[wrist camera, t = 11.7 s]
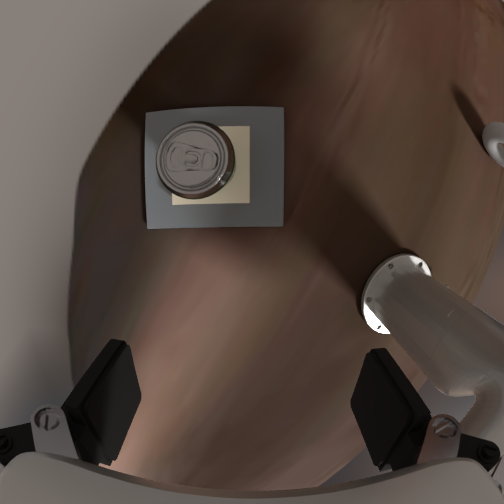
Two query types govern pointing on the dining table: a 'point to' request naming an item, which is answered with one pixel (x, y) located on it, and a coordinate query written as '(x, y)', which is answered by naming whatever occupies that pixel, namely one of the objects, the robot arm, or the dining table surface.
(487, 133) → the donut
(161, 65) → the dining table surface
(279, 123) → the build base
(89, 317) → the dining table surface
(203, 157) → the soda can
